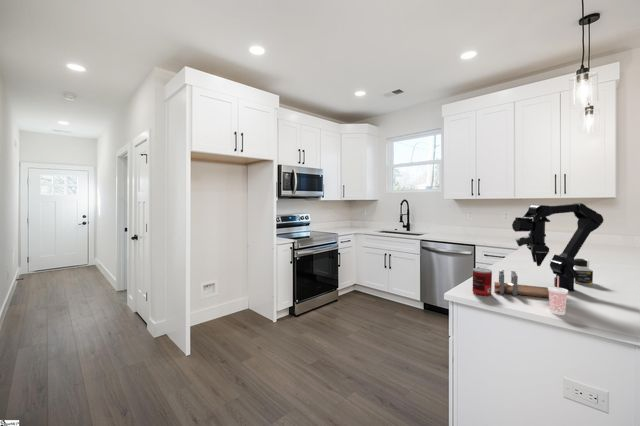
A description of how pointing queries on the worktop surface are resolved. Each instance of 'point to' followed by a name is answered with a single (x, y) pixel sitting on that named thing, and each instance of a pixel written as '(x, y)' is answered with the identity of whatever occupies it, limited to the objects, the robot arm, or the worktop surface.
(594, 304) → the worktop surface
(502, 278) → the collar
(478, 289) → the canned food
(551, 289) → the beverage cup
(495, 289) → the brown wooden rod
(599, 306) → the worktop surface
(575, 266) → the medicine bottle
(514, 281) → the collar
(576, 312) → the worktop surface
